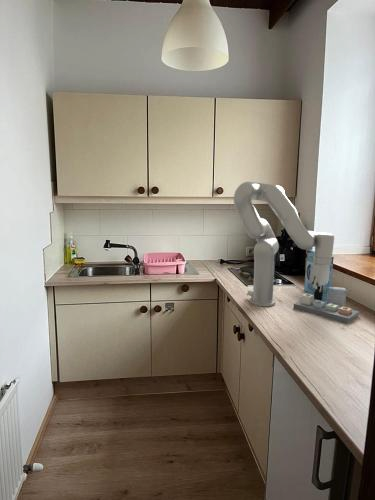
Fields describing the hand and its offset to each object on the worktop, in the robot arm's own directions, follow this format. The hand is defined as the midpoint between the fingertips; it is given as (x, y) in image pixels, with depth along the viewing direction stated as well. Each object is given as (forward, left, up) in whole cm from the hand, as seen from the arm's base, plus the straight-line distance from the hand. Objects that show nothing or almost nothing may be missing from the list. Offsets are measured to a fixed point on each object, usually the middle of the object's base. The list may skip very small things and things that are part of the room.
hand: (317, 299), depth 157 cm
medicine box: (+3, +14, -6) cm, 15 cm away
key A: (+7, 0, -5) cm, 8 cm away
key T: (+1, 0, -5) cm, 5 cm away
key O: (-5, 0, -3) cm, 6 cm away
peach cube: (+12, 0, -5) cm, 13 cm away
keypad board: (+4, 0, -6) cm, 7 cm away
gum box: (-11, +22, -6) cm, 25 cm away
